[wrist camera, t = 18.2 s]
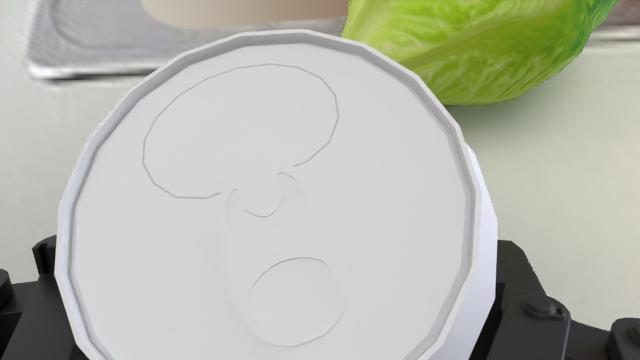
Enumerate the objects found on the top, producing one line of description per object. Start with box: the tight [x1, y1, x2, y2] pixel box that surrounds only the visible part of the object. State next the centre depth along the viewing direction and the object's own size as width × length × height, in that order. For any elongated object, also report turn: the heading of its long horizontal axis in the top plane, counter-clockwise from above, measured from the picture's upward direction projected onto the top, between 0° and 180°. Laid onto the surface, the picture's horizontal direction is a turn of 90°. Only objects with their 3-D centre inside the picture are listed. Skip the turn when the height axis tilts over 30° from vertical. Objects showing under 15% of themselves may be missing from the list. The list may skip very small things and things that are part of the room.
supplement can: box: [54, 29, 498, 360], centre depth 14 cm, size 8×8×15 cm
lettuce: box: [341, 0, 618, 105], centre depth 32 cm, size 17×20×15 cm
